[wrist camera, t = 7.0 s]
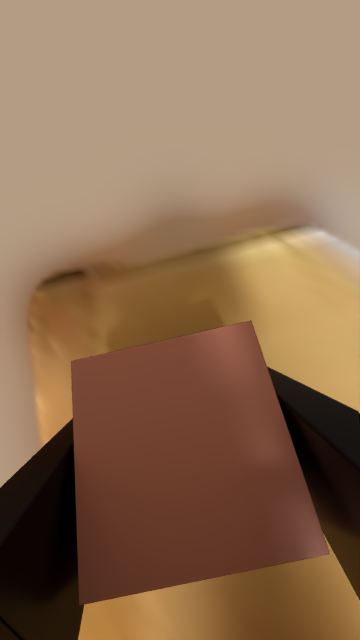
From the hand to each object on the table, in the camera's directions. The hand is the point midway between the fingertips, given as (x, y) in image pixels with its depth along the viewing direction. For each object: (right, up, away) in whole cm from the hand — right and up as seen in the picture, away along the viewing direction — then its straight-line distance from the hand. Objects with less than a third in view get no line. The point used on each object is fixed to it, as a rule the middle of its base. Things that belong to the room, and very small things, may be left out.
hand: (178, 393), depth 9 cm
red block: (+1, -4, +6) cm, 7 cm away
